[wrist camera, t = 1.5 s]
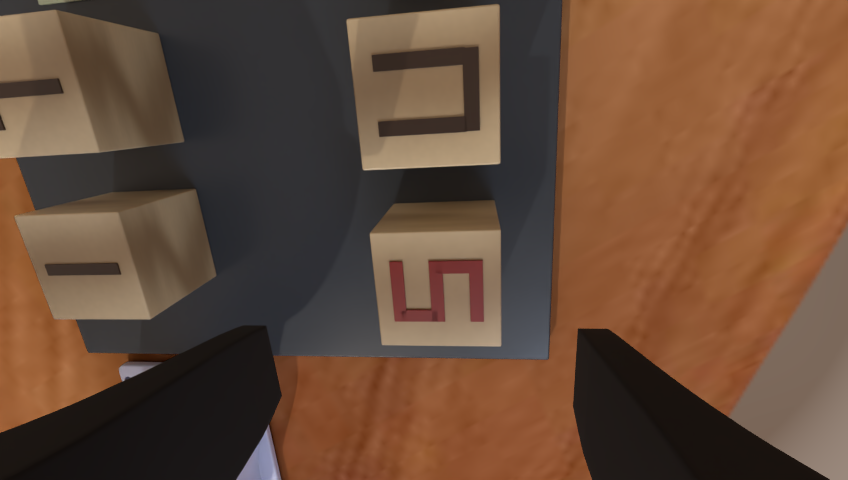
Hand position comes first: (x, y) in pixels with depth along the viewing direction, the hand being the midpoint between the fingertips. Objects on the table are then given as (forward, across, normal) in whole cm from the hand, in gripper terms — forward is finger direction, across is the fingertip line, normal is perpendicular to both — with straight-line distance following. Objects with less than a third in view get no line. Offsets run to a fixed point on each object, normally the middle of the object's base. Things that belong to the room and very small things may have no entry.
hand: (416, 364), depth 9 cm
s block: (+8, 0, 0) cm, 9 cm away
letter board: (+10, +8, -5) cm, 13 cm away
